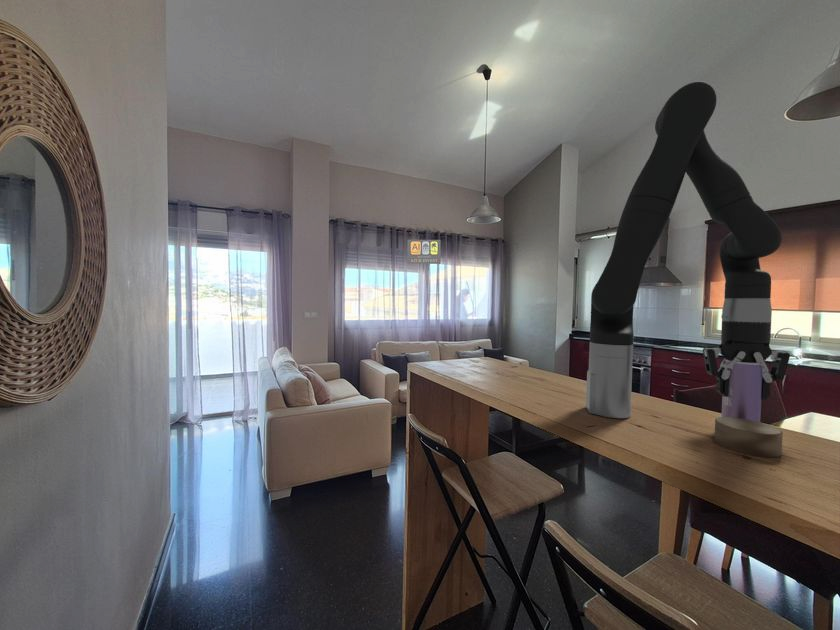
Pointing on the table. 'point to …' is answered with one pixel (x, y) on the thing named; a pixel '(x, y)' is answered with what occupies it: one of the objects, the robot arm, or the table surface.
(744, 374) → the beverage can
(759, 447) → the plinth
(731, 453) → the table surface
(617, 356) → the robot arm
